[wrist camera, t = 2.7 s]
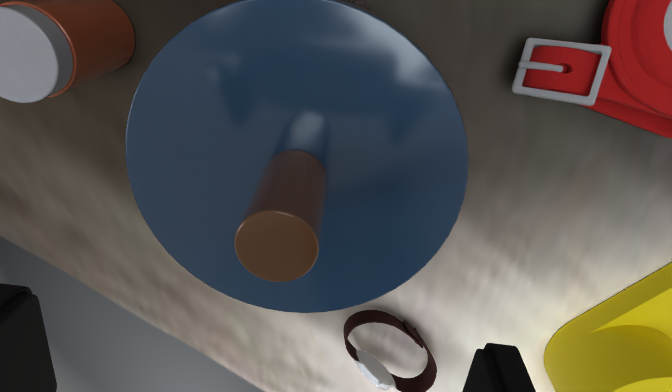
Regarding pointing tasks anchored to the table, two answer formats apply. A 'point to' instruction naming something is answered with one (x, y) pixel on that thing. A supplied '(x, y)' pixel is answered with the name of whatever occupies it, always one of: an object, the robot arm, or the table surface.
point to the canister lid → (296, 153)
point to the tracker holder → (610, 67)
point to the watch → (373, 368)
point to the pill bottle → (59, 45)
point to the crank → (618, 342)
